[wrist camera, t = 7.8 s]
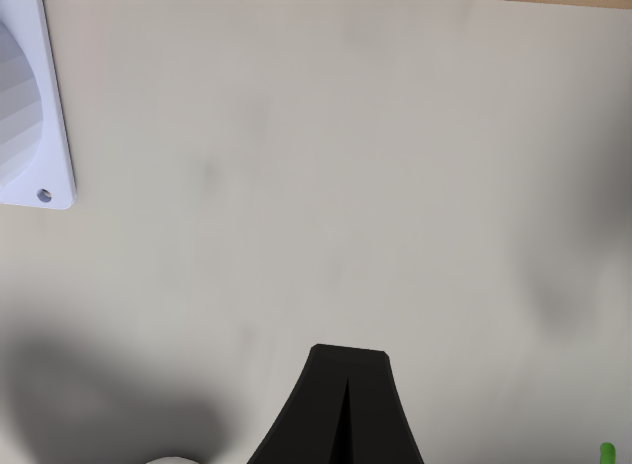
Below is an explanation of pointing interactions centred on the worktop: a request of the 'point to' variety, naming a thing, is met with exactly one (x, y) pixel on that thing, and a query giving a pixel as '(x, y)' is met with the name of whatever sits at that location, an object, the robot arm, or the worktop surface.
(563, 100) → the worktop surface
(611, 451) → the snack cup
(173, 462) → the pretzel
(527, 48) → the worktop surface
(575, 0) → the fader console
